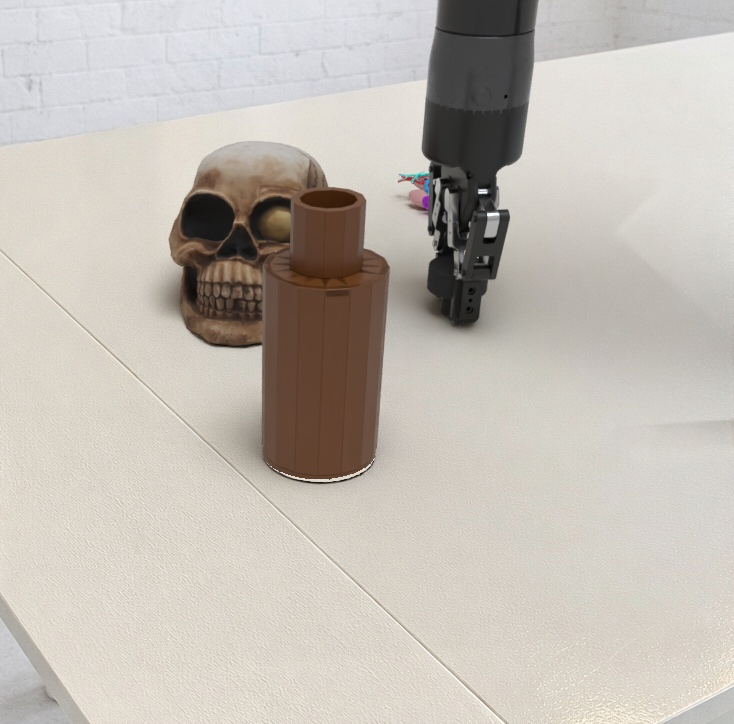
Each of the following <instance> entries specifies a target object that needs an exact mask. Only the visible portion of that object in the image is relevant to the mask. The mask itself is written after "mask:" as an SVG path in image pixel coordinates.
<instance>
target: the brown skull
mask: <svg viewBox="0 0 734 724" xmlns="http://www.w3.org/2000/svg"><path fill="white" fill-rule="evenodd" d="M319 187H329V183H328V179H327V178H326V175H325V172H324V169H323V167H322V166H321V164H320V163H319V162H318V161H317V160H316V158H314V156H313V155H311V154H310V153H308V152H307V151H305V150H303V149H301V148H300V147H296V146H293V145H290V144H287V143H282V142H276V141H275V142H274V141H264V140H245V141H237V142H234V143H229V144H227V145H224V146H222V147H219V148H218V149H216V150H214V151H212V152H211V153H209V154H207V155H206V156H205V157H203V159H202V160H201V161H200V163H199V165H198V167H197V169H196V174H195V177H194V180H193V184H192V187H191V189H190V190H189V191H188V193H187V194H186V195H185V197H184V198H183V201H182V204H181V206H180V208H179V209H180V210H179V213H177V215H176V218H175V219H174V221H173V224H172V227H171V229H170V233H169V236H168V244H169V250H170V257H171V259H172V261H173V262H174V264H177V265H178V266H180V267H182V275H181V279H180V280H181V284H180V285H181V286H180V294H179V295H180V296H179V304H180V308H181V313H182V317H183V318H184V322H185V326H186V328H187V329H189V330H190V331H191V332H192V333H195V334H197V335H199V336H201V337H202V338H203V340H205V341H207V342H208V343H210V344H214V345H225V346H231V347H234V346H237V347H238V346H246V345H247V346H248V345H252V344H262V288H263V263H264V262H265V260H266V259H267V257H268V256H269V255H270V254H272V253H275V252H277V251H279V250H281V249H283V248H287V247H290V224H291V197H292V196H293V195H295V194H296V193H297V192H299V191H303V190H306V189H310V188H319Z"/></svg>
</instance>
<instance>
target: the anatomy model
mask: <svg viewBox="0 0 734 724" xmlns="http://www.w3.org/2000/svg"><path fill="white" fill-rule="evenodd" d="M398 176H399V177H401V178H400V179H398V180H397V184H399V183H402V182H410V183H411V184H412V185H414V187H416V188H417V189H413V190H411V191H410V192H409V193H408V199H409V201H410V202H411V203H412V204H414V205H416V206H417V207H419V208H422V209H425V210H426V211H428V209H429V172H425V171H421V172H418V173H414V174H402V173H398Z"/></svg>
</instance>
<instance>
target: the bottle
mask: <svg viewBox="0 0 734 724" xmlns="http://www.w3.org/2000/svg"><path fill="white" fill-rule="evenodd" d="M366 215H367V199H366V197H365V196H364V194H362V193H361V192H358V191H356V190H353V189H351V188H343V187H335V186H328V187H319V188H310V189H306V190H303V191H299V192H297V193H296V194H295V195H293V196H292V197H291V224H290V247H287V248H283V249H281V250H279V251H277V252H275V253H272V254H270V255H269V256H268V257H267V259H266V260H265V262H264V263H263V288H262V343H261V447H262V448H261V449H262V450H261V451H262V453H263V454H262V458H263V457H264V458H263V460H264V459H265V460H264V462H265V461H266V462H267V463H268V464H269V465H270V466H272V468H274V469H276V470H278V471H279V472H283V473H285V474H288V475H291V476H295V477H299V478H305V479H329V480H330V479H332V478H338V477H343V476H347V475H350V474H354V473H356V472H358V471H360V470H362V469H363V468H366V467H367V466H368V465H369V464H371V462H372V461H373V459H374V458H375V459H376V455H375V454H377V453H376V452H377V448H378V440H379V439H378V437H379V425H380V424H379V423H380V409H381V399H382V398H381V396H382V381H383V369H384V368H383V367H384V355H385V342H386V329H387V328H386V326H387V313H388V300H389V286H390V273H391V266H390V265H389V262H388V261H387V260H386V258H385V257H384V256H382V255H380V254H379V253H377V252H375V251H373V250H371V249H370V248H369V249H368V248H365V234H366V233H365V232H366ZM266 462H265V463H266ZM267 463H266V464H267Z"/></svg>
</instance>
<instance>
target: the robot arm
mask: <svg viewBox="0 0 734 724" xmlns="http://www.w3.org/2000/svg"><path fill="white" fill-rule="evenodd" d="M539 1H540V0H437V2H436V10H435V11H436V12H435V23H434V24H435V27H434V33H433V38H432V43H431V48H430V51H429V59H428V66H427V78H426V89H425V90H426V91H425V102H424V111H423V112H424V113H423V126H422V138H421V153H422V155H423V156H424V158H425V159H427V160H428V161H430V162H429V166H428V173H429V194H428V195H429V209H428V210H427V213H428V216H427V218H428V219H427V228H426V229H427V233H428V236H429V237H433V238H432V242H431V246H432V248H433V251H434V252H435V257H434V258H437V257H440V256H445V255H454V270H453V274H454V279H453V289H452V298H451V307H450V316H449V318H450V320H451V322H452V323H453V324H455V325H461V324H462V325H463V324H474V323H476V322H478V320H479V318H480V313H481V305H482V297H483V296H482V288H483V280H488V281H489V280H490V281H493V280H494V281H495V280H496V279H497V276H498V271H499V267H500V263H501V258H502V254H503V251H504V245H505V242H506V237H507V234H508V228H509V225H510V221H511V214H510V211H509V209H508V208H504V209H503V208H501V209H500V208H499V207H500V187H499V186H498V184H497V183H498V178H497V175H498V172H499V171H500V170H502V169H503V168H504V167H507V166H508V167H509V166H511V165H514V164H515V163H516V162H518V161H519V160H520V158H521V157H522V156H523V150H524V143H525V136H526V129H527V121H528V120H527V119H528V113H529V106H530V98H531V90H532V85H533V84H532V83H533V75H534V69H535V68H534V67H535V37H536V35H535V34H536V24H537V16H538V8H539ZM476 258H478V263H475V259H476ZM474 263H475V264H474ZM434 296H435V297H436V298H439V297H438V296H436V295H434Z"/></svg>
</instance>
